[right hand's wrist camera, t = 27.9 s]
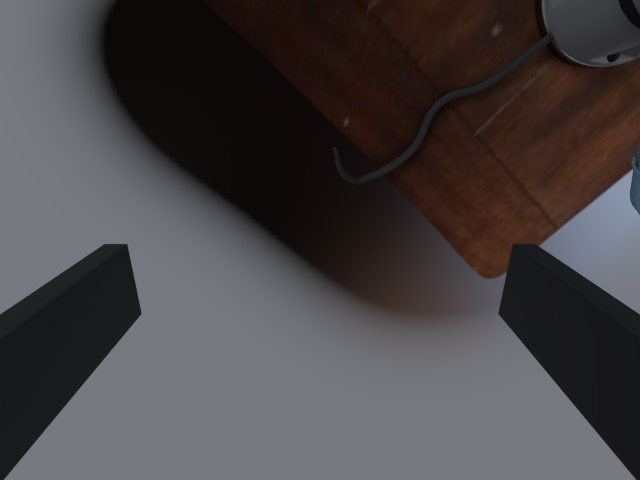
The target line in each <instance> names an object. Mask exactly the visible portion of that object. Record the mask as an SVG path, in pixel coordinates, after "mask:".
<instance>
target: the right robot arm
mask: <svg viewBox="0 0 640 480" xmlns="http://www.w3.org/2000/svg"><path fill="white" fill-rule="evenodd" d="M535 12H536V19H537V24H538V28H539V30H540V33H541V36H542V39H540V40H539V41H538V42H536V43H535V44H534V45H532V46H531V47H530V48H528V49H527V50H526V51H524V52H523V53H522V54H520V55H519V56H518V57H517V58H515V59H514V60H513V61H511V62H510V63H509V64H508V65H506V66H505V67H504V68H503V69H502V70H500V71H499V72H498V73H496V74H495V75H494V76H492V77H491V78H489V79H487V80H486V81H484V82H482V83H480V84H477V85H474V86H471V87H467V88H463V89H459V90H456V91H453V92H450V93H448V94H446V95H444V96H443V97H441V98H440V99H439V100H438V101H436V102H435V103H434V104H433V105H432V107H431V108H430V109H429V111H428V112H427V114H426V116H425V118H424V120H423V123H422V125H421V128H420V130H419V133H418V135H417V137H416V139H415V141H414V142H413V144H412V145H411V146H410V147H409V148H408V149H407V150H406V151H405V152H404V153H403V154H402V155H401V156H399V157H398V158H397V159H395V160H394V161H392V162H391V163H389V164H387V165H386V166H384V167H382V168H380V169H378V170H376V171H374V172H371V173H369V174H367V175H365V176H363V177H360V178H354V177H352V176H350V175H348V174H346V173H345V172H344V170H343V169H342V167H341V164H340V159H339V154H338V151H337V149H336V147H333V151H334V155H335V162H336V167H337V170H338V172H339V174H340V175H341V177H342V178H343V179H345V180H347V181H348V182H350V183H352V184H354V185H360V184H363V183H366V182H368V181H371V180H373V179H375V178H377V177H379V176H382V175H384V174H386V173H387V172H389V171H391V170H393V169H394V168H396V167H397V166H399V165H400V164H402V163H403V162H404V161H405V160H407V159H408V158H409V157H410V156H411V155H412V154H413V153H414V152H415V151H416V150H417V149H418V147H419V146H420V144H421V143H422V141H423V139H424V137H425V134H426V132H427V129H428V127H429V124H430V122H431V120H432V118H433V116H434V115H435V113H436V112H437V111H438V110H439V109H440V108H441V107H442V106H443V105H444V104H446V103H447V102H449V101H451V100H454V99H456V98H460V97H464V96H468V95H472V94H475V93H478V92H481V91H483V90H485V89H487V88H489V87H491V86H492V85H494V84H495V83H497V82H498V81H500V80H501V79H502V78H504V77H505V76H506V75H508V74H509V73H510V72H511V71H512V70H514V69H515V68H516V67H518V66H519V65H520V64H521V63H523V62H524V61H525V60H527V59H528V58H530V57H531V56H532V55H534V54H535V53H536V52H538V51H539V50H540V49H542V48H543V47H544V46H546V45H547V46H548V47H549V49H550V50H551V51H552V52H553V53H554V54H555V55H556V56H557V57H559V58H560V59H562V60H563V61H565V62H567V63H569V64H572V65H575V66H579V67H585V68H598V67H607V66H614V65H619V64H623V63H626V62H629V61H631V60H634V59H636V58H638V57H640V0H535ZM631 164H632V168H633V176H632V183H631V190H630V200H631V203H632V205H633V207H634V208H635V209H636V210H637V211H638V213H639V214H640V134H639V139H638V144H637V149H636V153H635V154H634V155H633V156H632V161H631ZM140 315H141V309H140V304H139V299H138V294H137V289H136V285H135V280H134V275H133V270H132V265H131V260H130V256H129V251H128V246H127V244H104V245H103V246H101V247H100V248H98V249H97V250H95V251H94V252H92V253H91V254H89V255H88V256H86V257H85V258H83V259H82V260H80V261H79V262H78V263H76V264H75V265H73V266H72V267H70V268H69V269H67V270H66V271H64V272H63V273H61V274H60V275H58V276H57V277H55V278H54V279H52V280H51V281H49V282H48V283H46V284H45V285H43V286H42V287H40V288H39V289H37V290H36V291H35V292H33V293H32V294H30V295H29V296H27V297H26V298H24V299H23V300H21V301H20V302H18V303H17V304H15V305H14V306H12V307H11V308H9V309H8V310H6V311H5V312H3V313H2V314H0V480H4V479H5V477H6V476H7V475H8V474H9V473H10V471H11V470H12V469H13V468H14V467H15V465H16V464H17V463H18V462H19V461H20V459H21V458H22V457H23V456H24V455H25V453H26V452H27V451H28V450H29V449H30V447H31V446H32V445H33V444H34V443H35V441H36V440H37V439H38V438H39V437H40V435H41V434H42V433H43V432H44V431H45V429H46V428H47V427H48V426H49V425H50V423H51V422H52V421H53V420H54V419H55V417H56V416H57V415H58V414H59V412H60V411H61V410H62V409H63V408H64V406H65V405H66V404H67V403H68V402H69V400H70V399H71V398H72V397H73V396H74V394H75V393H76V392H77V391H78V390H79V388H80V387H81V386H82V385H83V384H84V382H85V381H86V380H87V379H88V378H89V376H90V375H91V374H92V373H93V372H94V370H95V369H96V368H97V367H98V366H99V364H100V363H101V362H102V361H103V360H104V358H105V357H106V356H107V355H108V354H109V352H110V351H111V350H112V349H113V348H114V346H115V345H116V344H117V343H118V341H119V340H120V339H121V338H122V337H123V335H124V334H125V333H126V332H127V331H128V329H129V328H130V327H131V326H132V325H133V323H134V322H135V321H136V320H137V319H138V317H139V316H140ZM499 315H500V316H501V317H502V319H503V320H504V321H505V322H506V323H507V325H508V326H509V327H510V328H511V329H512V331H513V332H514V333H515V334H516V335H517V337H518V338H519V339H520V340H521V341H522V343H523V344H524V345H525V346H526V348H527V349H528V350H529V351H530V352H531V354H532V355H533V356H534V357H535V358H536V360H537V361H538V362H539V363H540V364H541V366H542V367H543V368H544V369H545V370H546V372H547V373H548V374H549V375H550V376H551V378H552V379H553V380H554V381H555V382H556V384H557V385H558V386H559V387H560V388H561V390H562V391H563V392H564V393H565V394H566V396H567V397H568V398H569V399H570V400H571V402H572V403H573V404H574V405H575V406H576V408H577V409H578V410H579V411H580V413H581V414H582V415H583V416H584V417H585V418H586V420H587V421H588V422H589V423H590V425H591V426H592V427H593V428H594V429H595V431H596V432H597V433H598V434H599V435H600V437H601V438H602V439H603V440H604V441H605V443H606V444H607V445H608V446H609V447H610V449H611V450H612V451H613V452H614V453H615V455H616V456H617V457H618V458H619V459H620V461H621V462H622V463H623V464H624V465H625V467H626V468H627V469H628V470H629V471H630V473H631V474H632V475H633V476H634V477H635V479H636V480H640V314H638V313H637V312H635V311H634V310H632V309H631V308H629V307H628V306H626V305H625V304H623V303H622V302H620V301H619V300H617V299H616V298H614V297H613V296H611V295H610V294H609V293H607V292H605V291H604V290H603V289H601V288H600V287H598V286H597V285H595V284H594V283H592V282H591V281H589V280H588V279H586V278H585V277H583V276H582V275H580V274H579V273H577V272H576V271H574V270H573V269H571V268H570V267H568V266H567V265H565V264H564V263H562V262H561V261H560V260H558V259H557V258H555V257H554V256H552V255H551V254H549V253H548V252H546V251H545V250H543V249H542V248H540V247H539V246H537V245H536V244H513V246H512V251H511V256H510V260H509V265H508V270H507V275H506V280H505V285H504V289H503V294H502V299H501V304H500V309H499Z"/></svg>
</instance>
